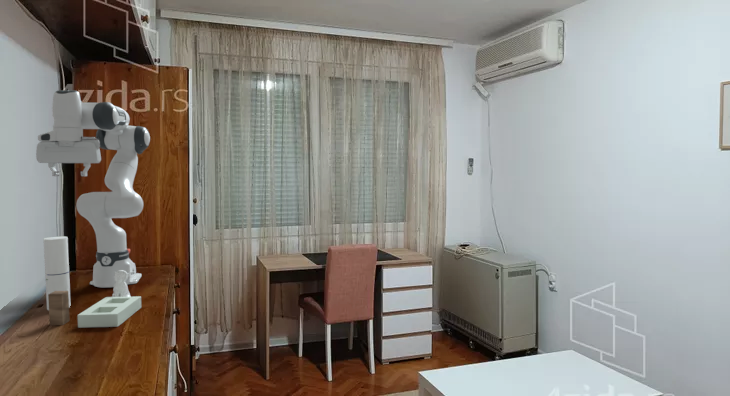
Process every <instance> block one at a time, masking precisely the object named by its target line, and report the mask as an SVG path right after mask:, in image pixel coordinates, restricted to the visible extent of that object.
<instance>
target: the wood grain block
mask: <svg viewBox="0 0 730 396" xmlns="http://www.w3.org/2000/svg"><path fill="white" fill-rule="evenodd" d="M48 299H49V310H48V315H49V317H48V318H49V326H64V325H65V324H67V323H68V322H70V320H71V319H70V307H69V298H68V291H54V292H52V293H50V294H48Z"/></svg>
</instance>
